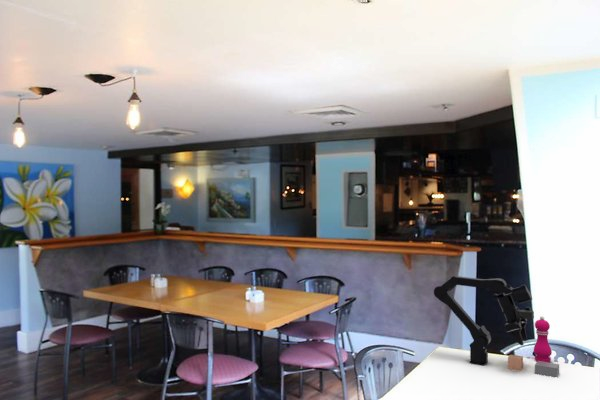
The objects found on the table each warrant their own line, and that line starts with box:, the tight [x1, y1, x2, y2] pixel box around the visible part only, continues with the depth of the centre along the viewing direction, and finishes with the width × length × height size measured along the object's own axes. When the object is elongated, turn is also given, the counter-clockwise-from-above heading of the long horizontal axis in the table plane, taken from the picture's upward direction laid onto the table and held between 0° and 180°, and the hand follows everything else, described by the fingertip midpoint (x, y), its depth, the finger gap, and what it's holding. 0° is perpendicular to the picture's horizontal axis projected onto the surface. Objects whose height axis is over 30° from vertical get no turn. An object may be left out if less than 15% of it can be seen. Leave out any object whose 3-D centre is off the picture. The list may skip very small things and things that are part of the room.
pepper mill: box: [533, 315, 553, 363], centre depth 212 cm, size 7×7×20 cm
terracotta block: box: [507, 354, 524, 372], centre depth 201 cm, size 5×5×5 cm
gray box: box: [534, 361, 560, 378], centre depth 194 cm, size 8×7×4 cm
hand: (524, 342), depth 199 cm, fingers open, 9 cm apart
